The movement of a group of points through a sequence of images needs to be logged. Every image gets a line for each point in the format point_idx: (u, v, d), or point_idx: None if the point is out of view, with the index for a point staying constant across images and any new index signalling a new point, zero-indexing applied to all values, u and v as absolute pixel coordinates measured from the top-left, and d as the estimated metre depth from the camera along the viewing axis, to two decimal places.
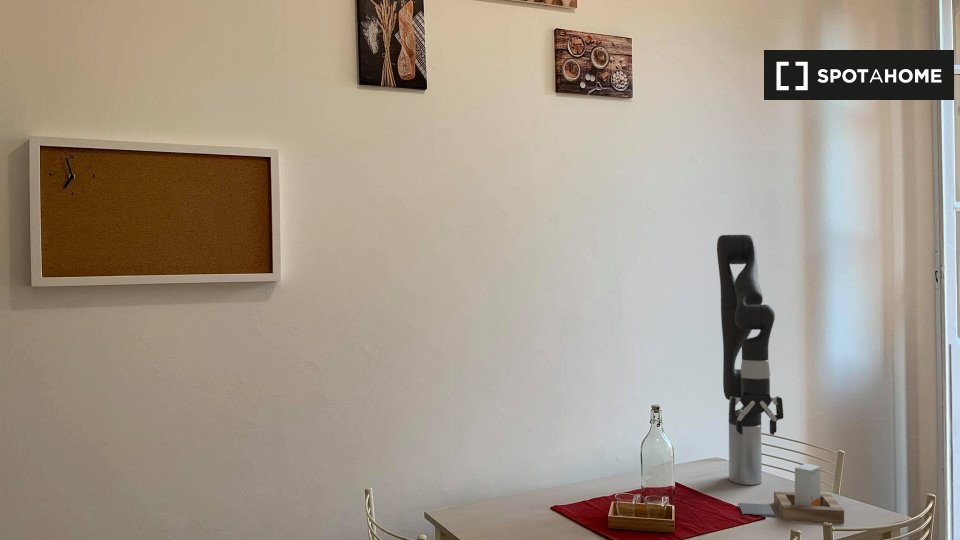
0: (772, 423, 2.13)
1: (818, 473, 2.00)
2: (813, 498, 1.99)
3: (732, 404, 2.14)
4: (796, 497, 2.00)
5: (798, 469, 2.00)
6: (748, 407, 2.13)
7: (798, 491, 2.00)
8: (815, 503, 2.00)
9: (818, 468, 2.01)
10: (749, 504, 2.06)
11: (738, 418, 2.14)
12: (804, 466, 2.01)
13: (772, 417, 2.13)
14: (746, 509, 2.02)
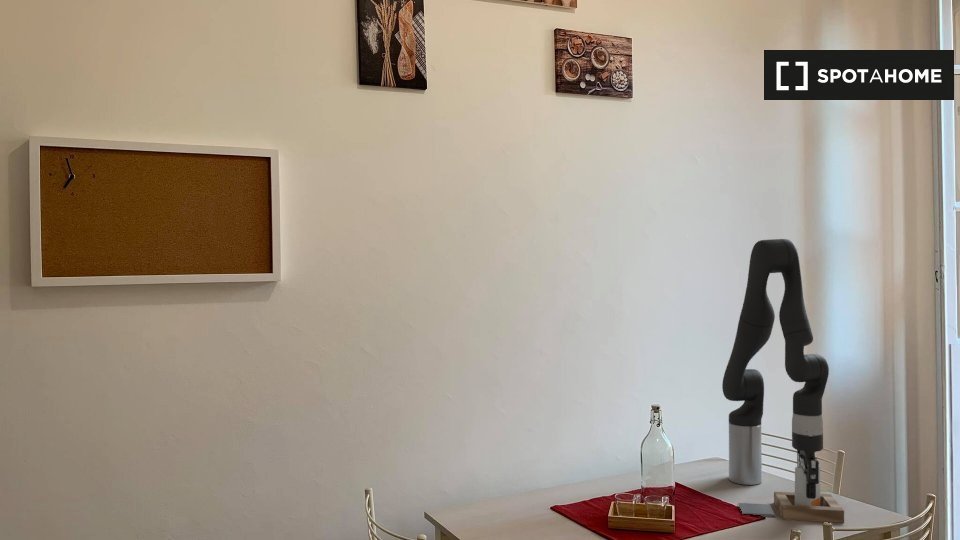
0: None
1: None
2: None
3: None
4: (796, 497, 2.00)
5: (798, 469, 2.00)
6: None
7: (798, 491, 2.00)
8: (815, 503, 2.00)
9: None
10: (749, 504, 2.06)
11: None
12: None
13: None
14: (746, 509, 2.02)
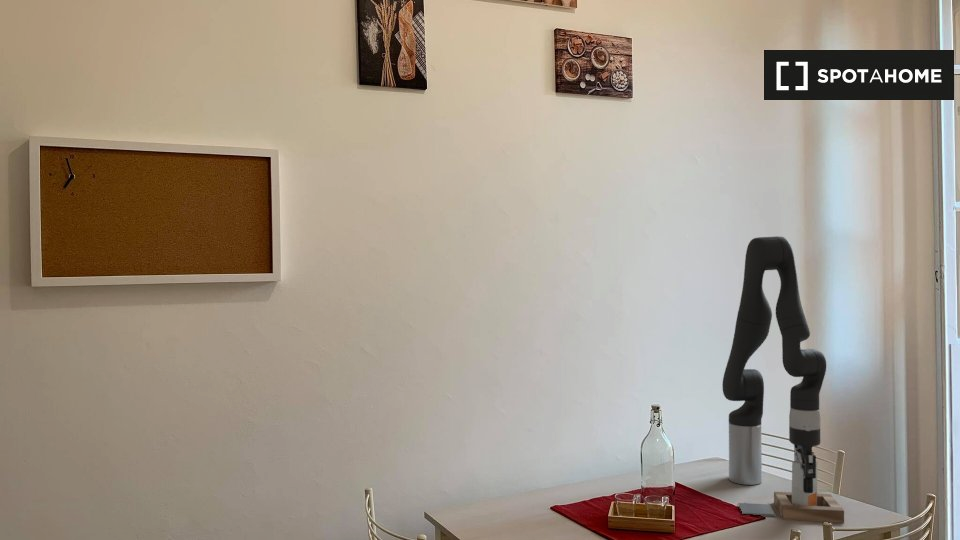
0: None
1: None
2: None
3: None
4: (793, 491, 2.01)
5: (795, 464, 2.00)
6: None
7: (795, 486, 2.00)
8: (812, 498, 2.00)
9: None
10: (749, 504, 2.06)
11: None
12: None
13: None
14: (746, 509, 2.02)
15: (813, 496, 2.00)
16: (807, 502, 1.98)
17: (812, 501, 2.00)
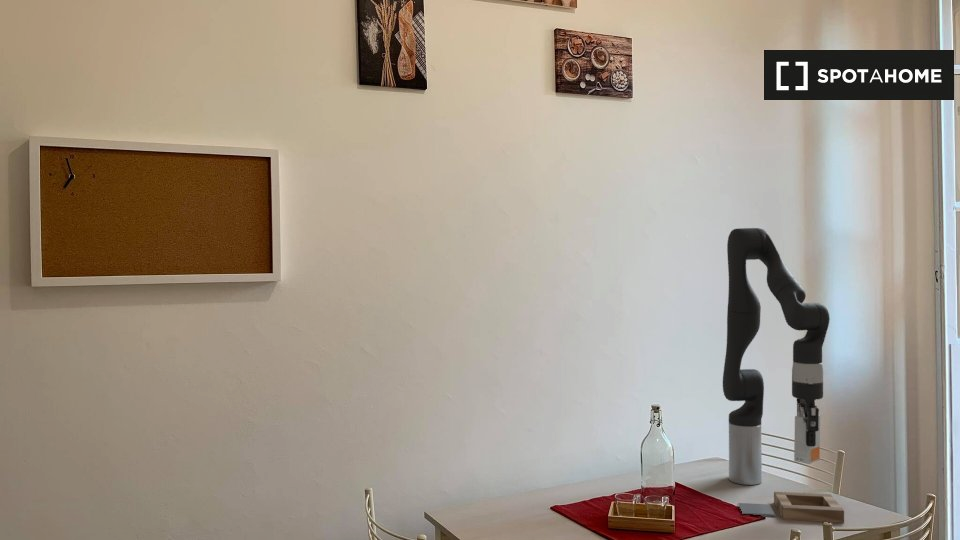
0: None
1: None
2: (813, 446, 1.99)
3: None
4: (796, 446, 2.00)
5: (798, 417, 2.00)
6: None
7: (798, 439, 2.00)
8: (815, 451, 2.00)
9: None
10: (749, 504, 2.06)
11: None
12: None
13: None
14: (746, 509, 2.02)
15: (816, 450, 2.00)
16: (810, 455, 1.98)
17: (815, 455, 2.00)
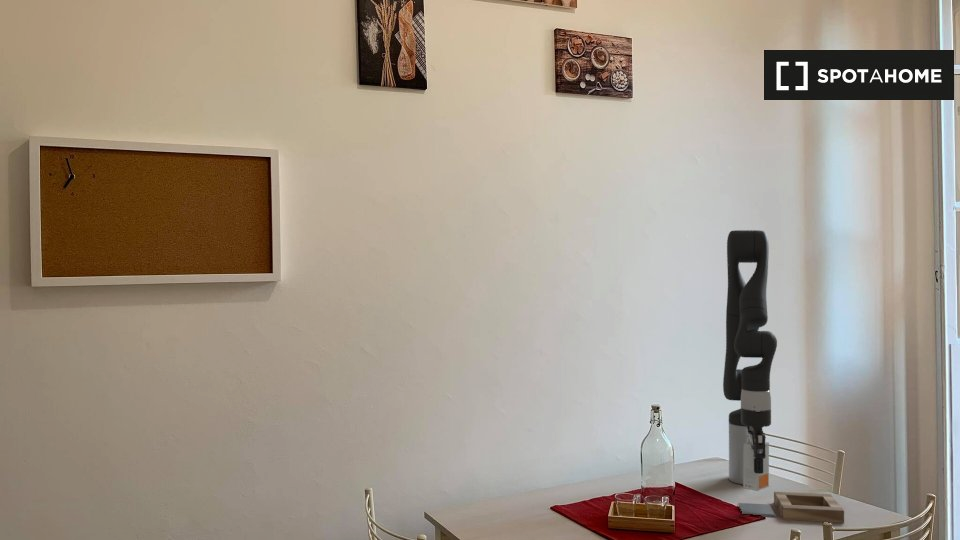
0: None
1: (766, 449, 2.02)
2: (761, 473, 2.00)
3: None
4: (744, 472, 2.02)
5: (746, 444, 2.01)
6: None
7: (746, 466, 2.01)
8: (764, 478, 2.01)
9: (766, 444, 2.02)
10: (749, 504, 2.06)
11: None
12: None
13: None
14: (746, 509, 2.02)
15: (764, 477, 2.01)
16: (758, 482, 1.99)
17: (764, 482, 2.01)
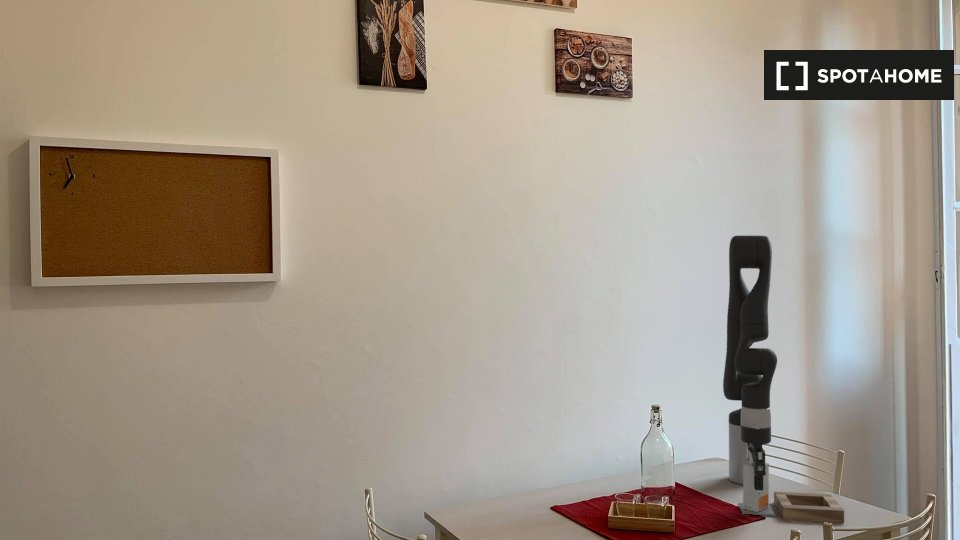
0: None
1: (766, 469, 2.02)
2: (761, 494, 2.00)
3: None
4: (744, 493, 2.02)
5: (746, 465, 2.01)
6: None
7: (746, 487, 2.01)
8: (763, 499, 2.01)
9: (766, 464, 2.02)
10: None
11: None
12: None
13: None
14: (746, 509, 2.02)
15: (764, 498, 2.02)
16: (758, 503, 2.00)
17: (763, 503, 2.01)
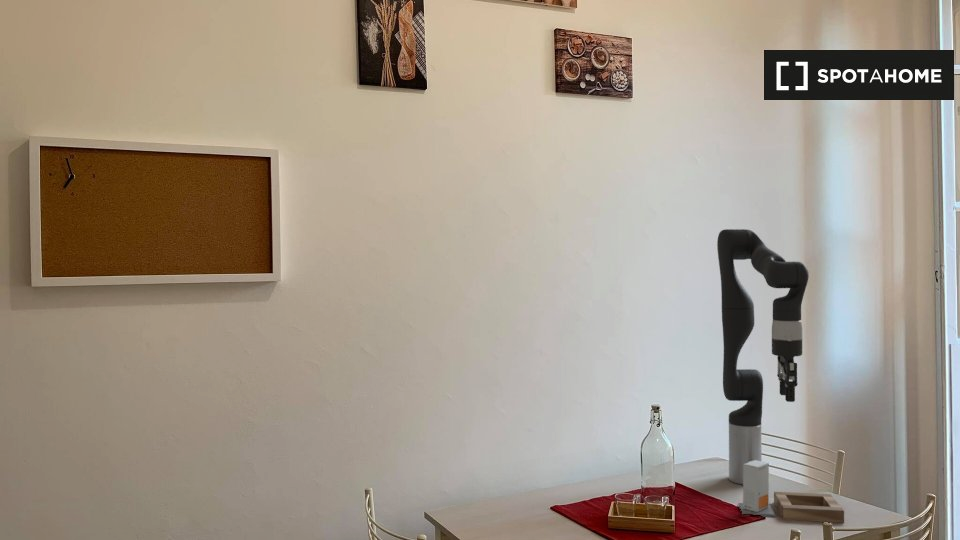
0: None
1: (766, 469, 2.02)
2: (761, 494, 2.00)
3: (796, 370, 1.96)
4: (744, 493, 2.02)
5: (746, 465, 2.01)
6: None
7: (746, 487, 2.01)
8: (763, 499, 2.01)
9: (766, 464, 2.02)
10: None
11: None
12: (752, 462, 2.03)
13: None
14: (746, 509, 2.02)
15: (764, 498, 2.02)
16: (758, 503, 2.00)
17: (763, 503, 2.01)
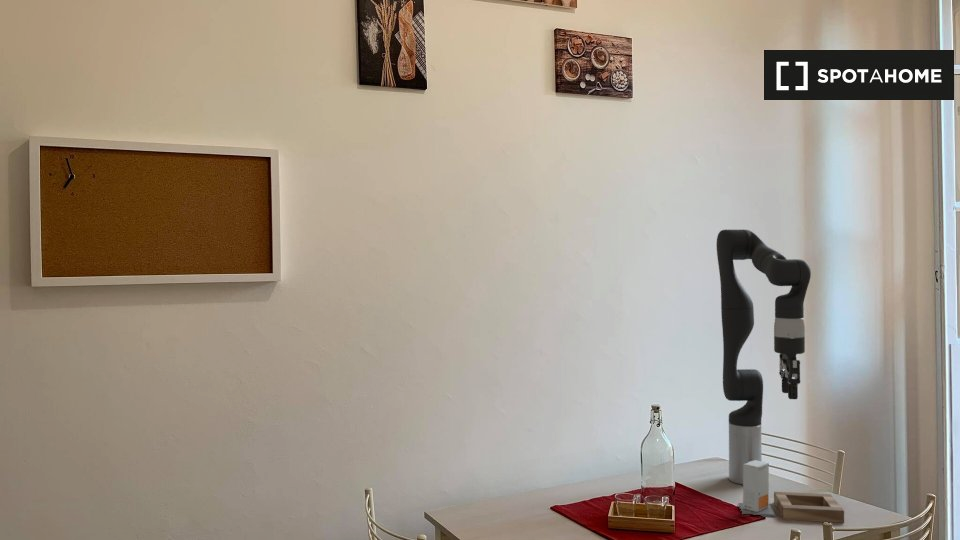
0: None
1: (766, 469, 2.02)
2: (761, 494, 2.00)
3: None
4: (744, 493, 2.02)
5: (746, 465, 2.01)
6: None
7: (746, 487, 2.01)
8: (763, 499, 2.01)
9: (766, 464, 2.02)
10: None
11: None
12: (752, 463, 2.03)
13: None
14: (746, 509, 2.02)
15: (764, 498, 2.02)
16: (758, 503, 2.00)
17: (763, 503, 2.01)
